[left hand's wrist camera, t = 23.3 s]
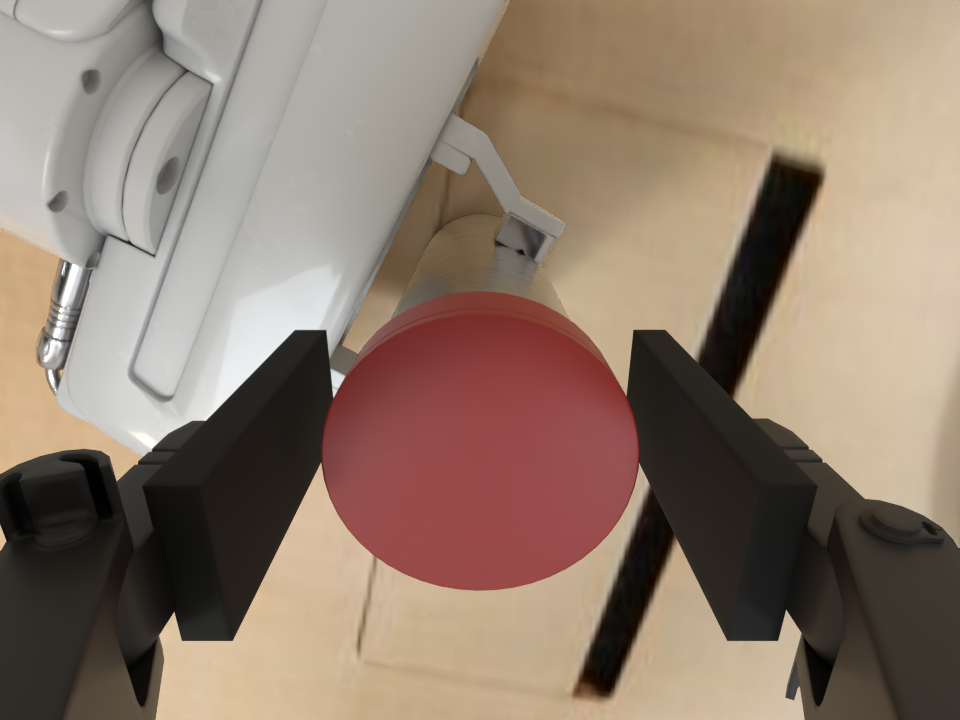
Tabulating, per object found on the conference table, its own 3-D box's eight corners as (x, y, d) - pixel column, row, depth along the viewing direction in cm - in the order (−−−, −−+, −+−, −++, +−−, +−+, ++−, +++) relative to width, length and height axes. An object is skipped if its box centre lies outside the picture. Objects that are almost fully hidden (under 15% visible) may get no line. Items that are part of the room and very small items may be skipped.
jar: (398, 252, 25) (292, 398, 11) (502, 190, 24) (536, 261, 10) (459, 349, 26) (436, 585, 12) (559, 295, 25) (656, 484, 11)
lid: (312, 307, 11) (287, 332, 9) (617, 275, 11) (639, 297, 9) (367, 550, 13) (353, 602, 11) (622, 528, 13) (640, 579, 11)
